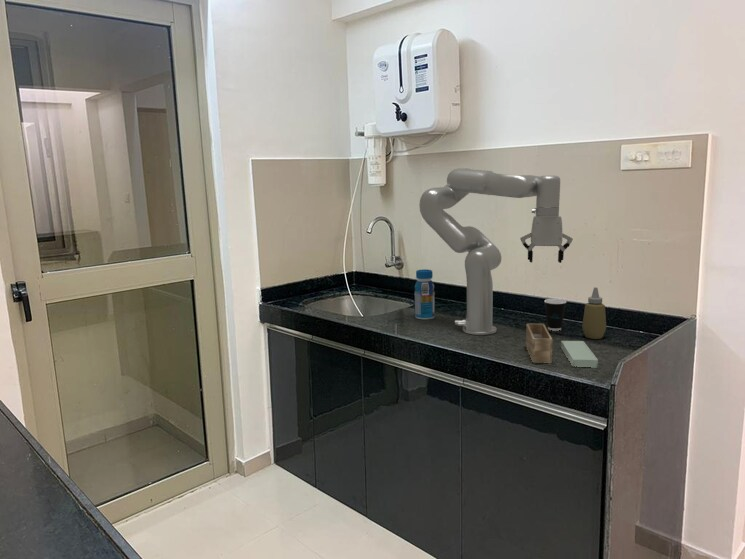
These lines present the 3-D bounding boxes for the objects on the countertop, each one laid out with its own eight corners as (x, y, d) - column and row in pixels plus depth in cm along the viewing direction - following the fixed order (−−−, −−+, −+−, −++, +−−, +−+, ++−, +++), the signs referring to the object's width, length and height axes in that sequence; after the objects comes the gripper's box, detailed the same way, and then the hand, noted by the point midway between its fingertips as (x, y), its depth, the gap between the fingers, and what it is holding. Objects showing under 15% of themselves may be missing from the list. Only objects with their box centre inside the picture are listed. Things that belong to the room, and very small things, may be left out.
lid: (572, 367, 170) (573, 359, 170) (561, 347, 190) (561, 340, 189) (597, 368, 169) (598, 360, 169) (583, 348, 189) (583, 341, 188)
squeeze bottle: (577, 334, 205) (579, 286, 202) (599, 333, 206) (601, 285, 202) (588, 340, 197) (590, 290, 194) (610, 339, 198) (612, 289, 194)
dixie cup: (551, 333, 208) (552, 304, 206) (539, 327, 215) (540, 299, 213) (569, 330, 210) (570, 302, 208) (557, 325, 218) (557, 297, 216)
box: (532, 363, 175) (532, 338, 173) (525, 346, 193) (526, 323, 191) (551, 364, 174) (552, 339, 172) (543, 346, 192) (543, 323, 190)
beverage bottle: (410, 318, 236) (409, 271, 232) (422, 314, 242) (421, 268, 239) (427, 321, 230) (426, 272, 227) (438, 316, 237) (438, 270, 233)
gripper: (522, 213, 190) (520, 263, 193) (575, 213, 187) (573, 264, 190) (520, 211, 197) (518, 260, 200) (571, 211, 194) (569, 260, 197)
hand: (545, 262), depth 195 cm, fingers open, 9 cm apart
